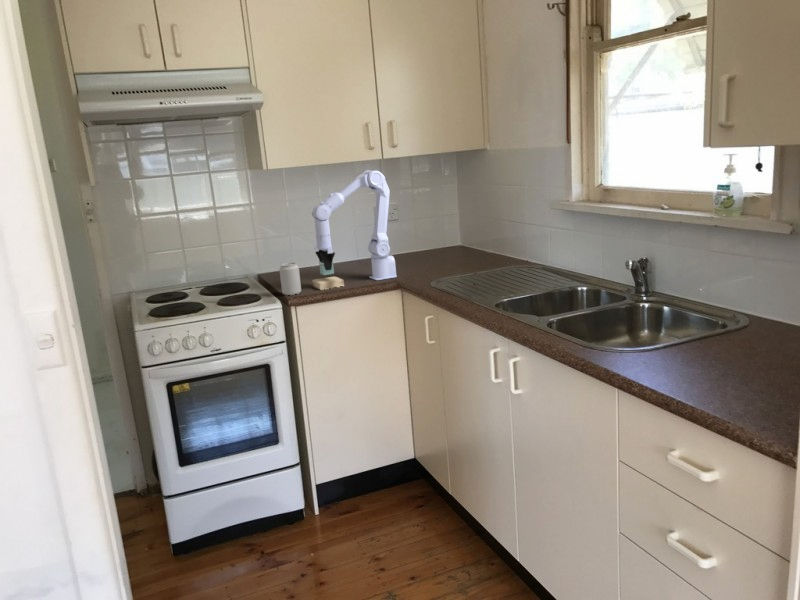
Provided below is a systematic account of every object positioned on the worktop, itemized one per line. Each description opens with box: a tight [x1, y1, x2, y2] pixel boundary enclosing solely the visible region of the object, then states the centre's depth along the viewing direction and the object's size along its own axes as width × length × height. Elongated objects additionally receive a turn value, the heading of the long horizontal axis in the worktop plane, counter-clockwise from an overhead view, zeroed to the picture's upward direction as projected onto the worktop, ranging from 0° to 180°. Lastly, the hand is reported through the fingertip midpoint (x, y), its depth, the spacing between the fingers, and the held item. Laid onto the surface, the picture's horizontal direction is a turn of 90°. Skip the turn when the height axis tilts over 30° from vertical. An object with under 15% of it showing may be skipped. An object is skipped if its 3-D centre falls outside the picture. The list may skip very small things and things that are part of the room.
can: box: [278, 262, 302, 296], centre depth 257 cm, size 8×8×12 cm
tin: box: [318, 260, 335, 276], centre depth 265 cm, size 4×4×5 cm
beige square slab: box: [311, 276, 345, 291], centre depth 267 cm, size 10×10×3 cm
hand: (326, 269), depth 265 cm, fingers closed on tin, 4 cm apart
